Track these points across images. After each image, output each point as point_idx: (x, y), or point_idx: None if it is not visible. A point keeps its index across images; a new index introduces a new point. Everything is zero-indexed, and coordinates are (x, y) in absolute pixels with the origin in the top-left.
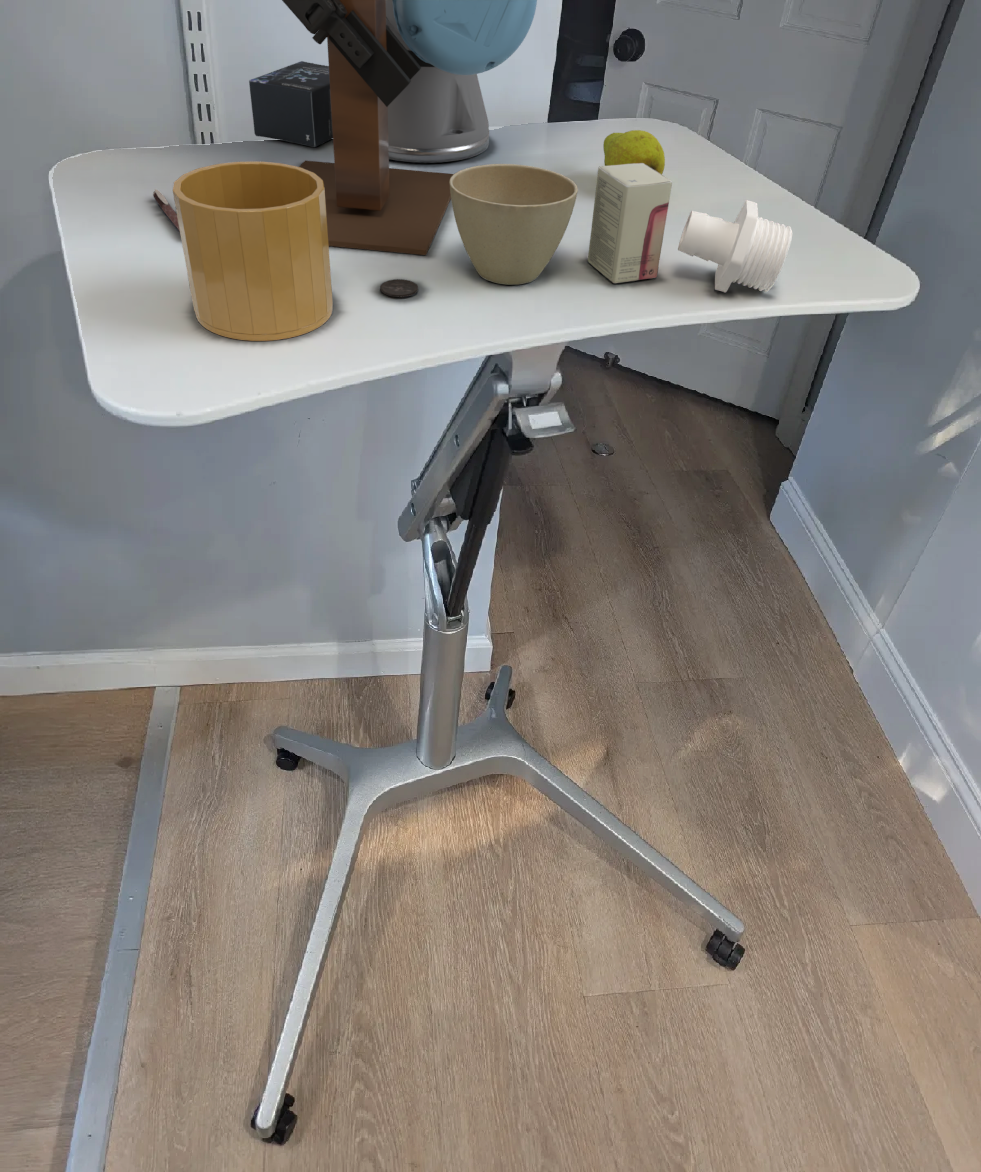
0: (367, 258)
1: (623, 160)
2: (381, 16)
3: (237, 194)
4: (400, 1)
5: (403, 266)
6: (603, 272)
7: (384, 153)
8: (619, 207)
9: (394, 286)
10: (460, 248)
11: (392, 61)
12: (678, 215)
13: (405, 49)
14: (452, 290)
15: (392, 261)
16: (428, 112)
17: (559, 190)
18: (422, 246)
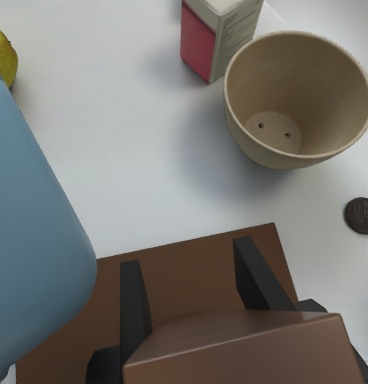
0: (311, 279)
1: (2, 63)
2: (205, 328)
3: None
4: (59, 326)
5: (308, 235)
6: None
7: (189, 316)
8: (257, 8)
9: (366, 219)
10: (235, 198)
11: (262, 266)
12: (49, 35)
13: (125, 293)
14: (332, 172)
15: (303, 250)
16: None
17: (238, 65)
18: (268, 229)
